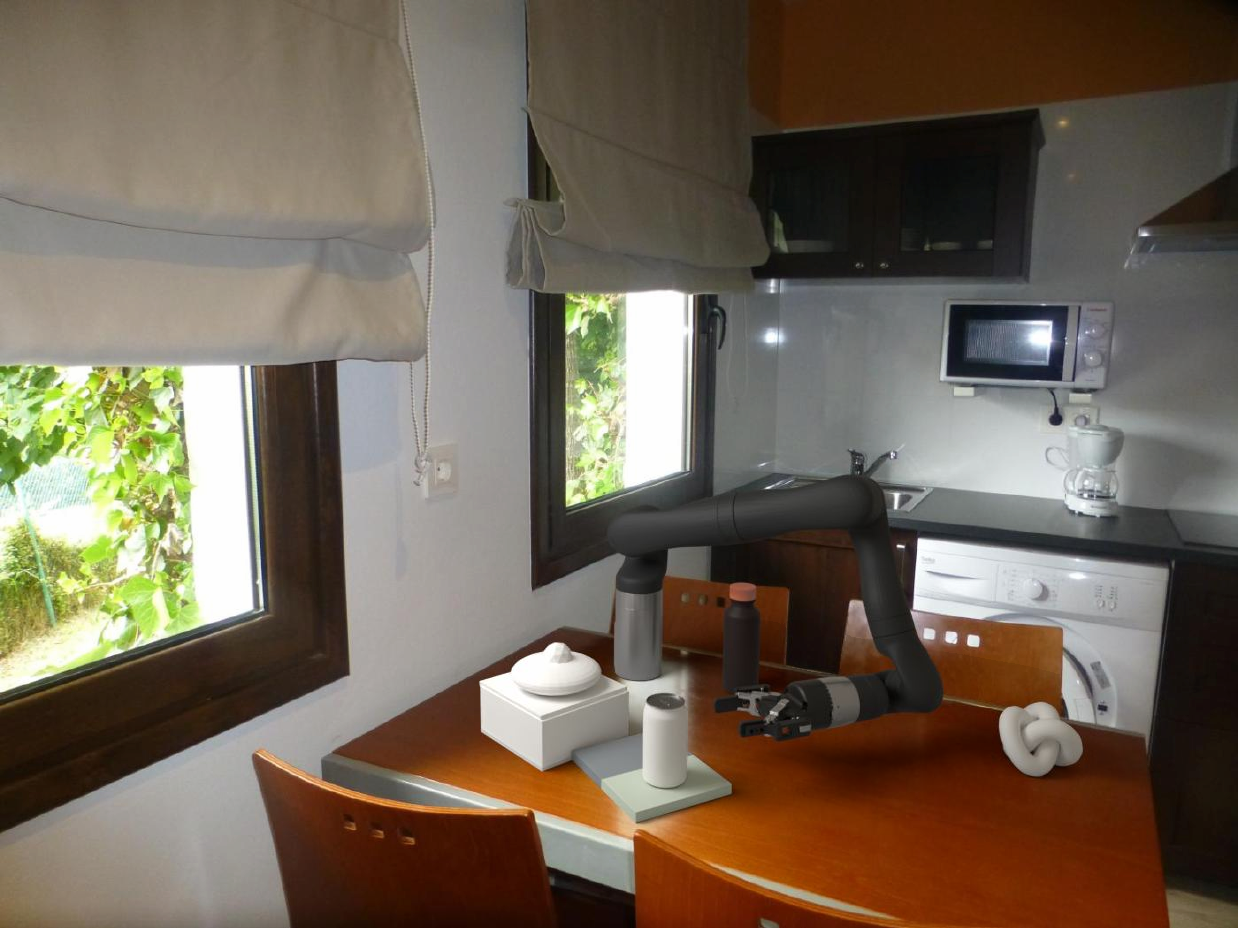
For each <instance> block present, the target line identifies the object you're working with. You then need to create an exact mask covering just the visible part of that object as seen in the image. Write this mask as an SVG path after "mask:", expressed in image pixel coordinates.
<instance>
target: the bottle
mask: <svg viewBox="0 0 1238 928" xmlns="http://www.w3.org/2000/svg"><path fill="white" fill-rule="evenodd" d="M729 600H730V604H729V605H728V606H727V607H726V608H725V609H724V613H723V648H722V649H723V650H722V686H721V687H722V688H723V690H724V691H725V692H727V693H729V694H732V695H734V688H735V687H744V686H753V685H759V682H760V681H759V678H760V677H759V676H760V649H761V647H760V646H761V620H762V619H761V618H762V616H761V611H760V610H759V609H758V608H757V607H756V605H755V602H756V600H757V586H756V585H755V584H753V583H749V582H734V583H731V584H730V585H729ZM744 693H747V692H744Z"/></svg>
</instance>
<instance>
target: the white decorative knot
mask: <svg viewBox="0 0 1238 928" xmlns="http://www.w3.org/2000/svg"><path fill="white" fill-rule="evenodd" d="M998 724H999V725H998V730H999V735H1000V741H1001V743H1002V749H1003V752H1004V753H1005V755H1006V756H1007V757H1008V758H1009V760H1010V761H1011V763H1012V764H1013V765H1014V766H1015V767H1016V768H1017V769H1018V770H1019V771H1021V772H1022V773H1023V774H1025V775H1027V776H1031V777H1042V776H1044V775H1046V774H1048V773H1049V772H1051V770H1052V769H1053V768H1054V766H1056V767H1057V766H1058V767H1067V766H1071V765H1073V764H1076V763H1077V762H1078V761H1079V760H1080V758H1081V756H1082V755H1083V750H1084V747H1083V742H1082V738H1081V737H1080V735H1079V733H1078V732H1077V731H1076V730H1075V729H1074V728H1073V727H1072V726H1071V725H1069V724H1068V723H1066V722H1064V721H1062V720H1061V717H1060V714H1059V712H1058V710H1057V709H1056V708H1055V707H1054V706H1053V705H1051V704H1049V703H1047V702H1045V701H1038V702H1037V701H1036V702H1035V703H1031V704H1028V705H1027V706H1026V707H1024V708H1022V707H1019V706H1016V705H1013V706H1008V707H1006V708H1005V709H1004V710H1003V711H1002V712H1001V714H1000V717H999V721H998ZM1031 752H1033V754H1032V753H1031Z"/></svg>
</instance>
